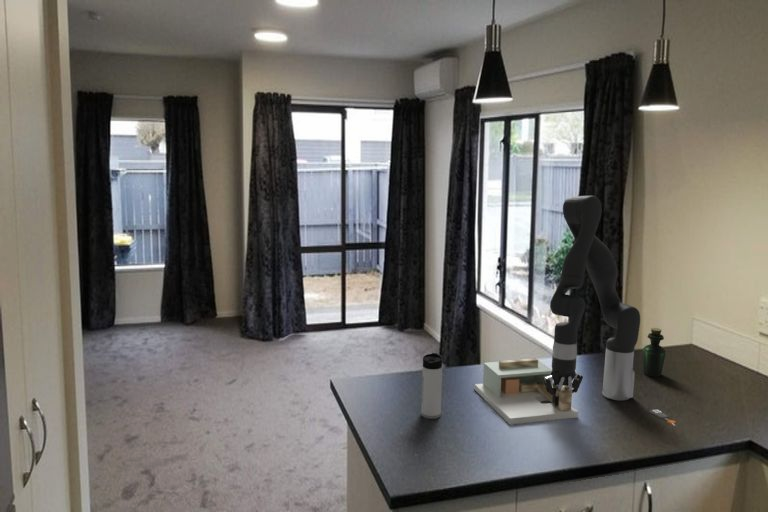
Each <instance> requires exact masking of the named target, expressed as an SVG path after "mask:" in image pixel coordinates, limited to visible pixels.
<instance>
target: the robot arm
mask: <svg viewBox="0 0 768 512" xmlns="http://www.w3.org/2000/svg"><path fill="white" fill-rule="evenodd" d="M602 207H603V206H602V202H601V201H600V199H599V198H598V197H597V196H595V195H578V196H570V197H568V198H566V199H565V200H564V202H563V204H562V214H563V217H564V220H565V222H566V224H567V227H568V228H569V230H570V233H571V234H572V236H573V237H574V240H575V241H574V243H573V244H572V245H571V247H570V248H569V250H568V251H567V253H566V255H565V257H564V259H563V263H562V268H561V273H560V279H559V282H558V285H557V288H556V290H555V291H554V294H553V295H552V298H551V299H550V305H549V307H550V311H551V313H552V314H553V315H556V316H559V317H560V316H561V317H566V318H567V317H568V318H570V321H561V322H558V323H556V324H555V325H554V336H553V345H552V352H551V353H552V355H551V369H552V372H551V375H550V376H548V377H545V376H544V377H543V381H544V384H545V387H546V390H547V392H548V393H550V394H551V395H553V396H552V403H553V404H554V406H556V407H558V406H559V392H560V390H561V388H562V386H564V387H565V388H567V389H568V390H570V391H571V392H572V394H574V393H578V390H579V388H580V385H581V383H582V382H583V379H584V376H583V375H582V374H580V373H578V372H577V373H576V369H577V356H578V355H577V354H578V346H577V345H578V342H577V340H578V330H579V326H580V323H581V321H582V317H583V315H584V312H585V309H586V302H585V300H584V298H583V297H582V296H580V295H573V294H567V292H568V291H569V290H572V289H580V288H582V286H583V285H584V278H585V273H586V270H587V272H588V275H589V277H590V280H591V282H592V284H593V285H592V286H593V288H594V291H595V293H596V295H597V298H598V302H599V305H600V309H601V310H600V311H601V314H602V317H603V320H604V322H605V323H606V324H607V325H608V327H611V328H613V329H615V330H616V332H615V336H613V337H610V338H608V339H607V340H606V343H605V355H604V357H605V358H604V368H603V380H602V381H603V382H602V392H601V393H602V396H604V397H605V398H607V399H610V400H614V401H627V400H630V399H633V396H634V387H635V374H636V372H635V371H634V369H633V368H634V357H635V347H636V345H637V342H638V339H639V335H640V334H639V333H640V328H641V327H640V325H641V313H640V311H639V310H638V308H636V307H634V306H632V305H630V304H627V303H623V302H622V300H621V299H620V297H619V294H618V292H617V288H616V283H617V281H618V280H617V279H618V273H619V270H618V266H617V264H616V260H615V258H614V255H613V253H612V251H611V250H610V248H609V247H608V246H607V245H606V244H605V243H604V242H603V241H601V239H600V238H598V237H597V236H596V232H597V229H598V226H599V224H600V221H601V216H602V211H603V208H602ZM552 379H553V386H552V385H551V383H552Z"/></svg>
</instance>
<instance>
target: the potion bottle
mask: <svg viewBox="0 0 768 512" xmlns="http://www.w3.org/2000/svg"><path fill="white" fill-rule="evenodd" d="M650 330H651V333H650V332H649V333H648V334H647V338H648V339H649V340H650V344H647V345H644V347H643V349H642V368H643V370H642V372H643V374H645V375H646V376H649V377H656V378H657V377H661V376H662V373H663V368H664V363H665V359H666V352H667V351H666V348H664V347H663V346H662V345H660V343H661V341H664V339H665V338H664V335H663V334H661V333H662V328H658V327H651V328H650Z"/></svg>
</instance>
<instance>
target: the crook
mask: <svg viewBox="0 0 768 512" xmlns="http://www.w3.org/2000/svg"><path fill="white" fill-rule="evenodd" d="M519 390H520V391H521V392H528V391H539V392H540V393H541V394H543V395H544V396H545V397H547V398H548V399H549V400H550V401H552V396H553V395H551V394H550V393H548V392H547V390H546V387H545V385H544V384H542V383H541V382H535V383H525V384H519ZM572 399H573V393H572V392H571V391H570V390H568V389H567V388H565V387H564V385H563V386H562V388H561V390H560V392H559V406H558V407H557V408H559V409H560V410H561V411H564V410H571V406H572V402H573V401H572ZM550 401H549V402H550ZM552 404H553V403H552Z"/></svg>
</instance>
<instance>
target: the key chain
mask: <svg viewBox="0 0 768 512" xmlns="http://www.w3.org/2000/svg"><path fill="white" fill-rule="evenodd" d="M648 413H649V414H651V415H653V416H655V417H656V418H658V419H661V420H664V421H666V422H667V423H668V424H672V425H673V426H676V421H675V420H673V419H672V420H671V419H670V418H669V415H667V414H666V413H664V412H662V411H661V410H659V409H650V410H649V412H648Z"/></svg>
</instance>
